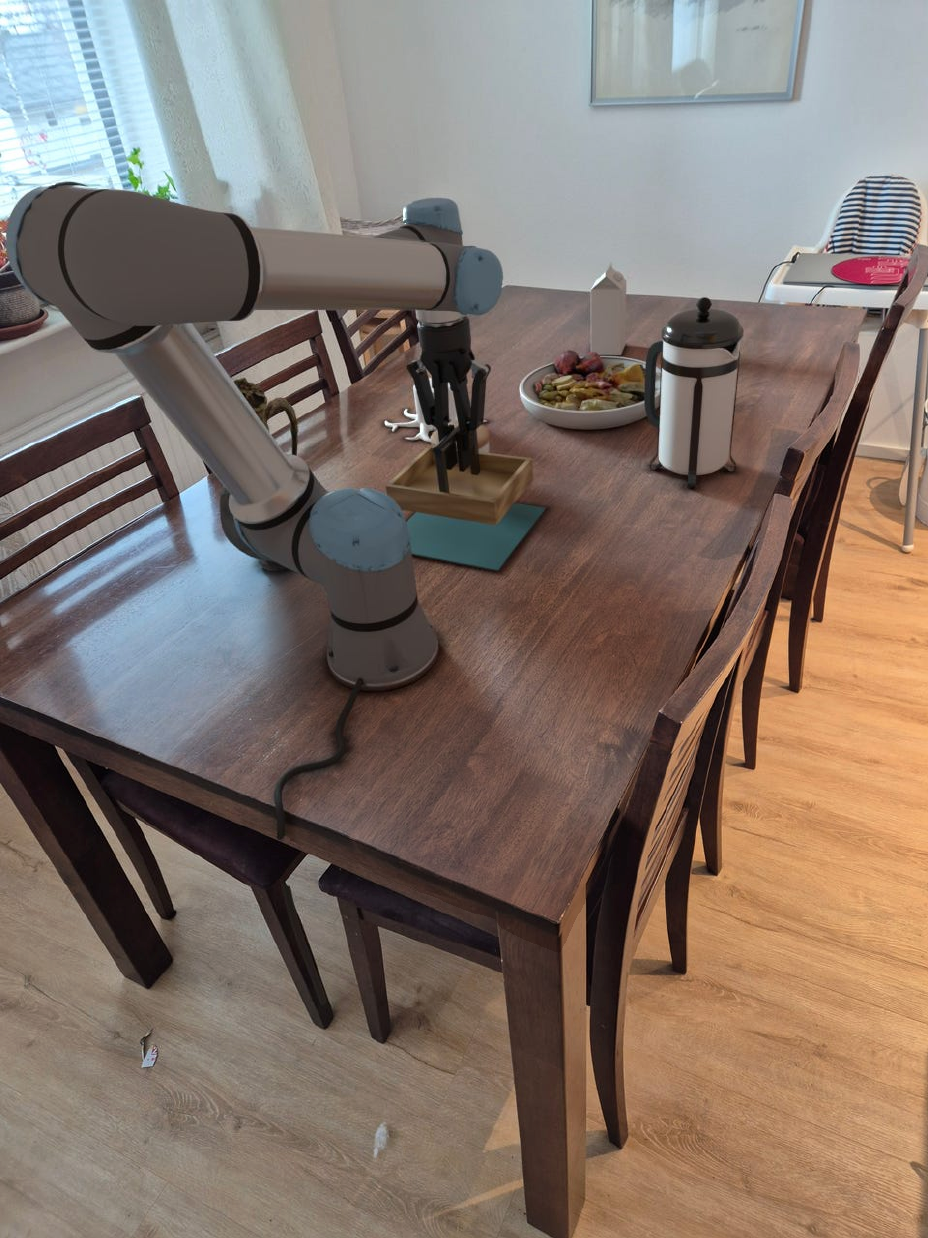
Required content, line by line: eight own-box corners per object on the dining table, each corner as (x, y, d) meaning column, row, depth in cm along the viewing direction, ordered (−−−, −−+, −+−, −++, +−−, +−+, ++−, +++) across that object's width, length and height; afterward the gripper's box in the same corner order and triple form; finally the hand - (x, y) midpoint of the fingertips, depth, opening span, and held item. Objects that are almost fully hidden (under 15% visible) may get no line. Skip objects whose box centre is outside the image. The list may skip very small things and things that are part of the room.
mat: (497, 571, 133) (497, 569, 133) (381, 549, 141) (381, 547, 141) (545, 509, 147) (545, 507, 147) (437, 492, 155) (436, 490, 155)
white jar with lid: (487, 487, 155) (483, 439, 149) (429, 486, 157) (423, 439, 152) (497, 460, 163) (493, 413, 158) (442, 459, 165) (436, 413, 160)
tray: (496, 525, 131) (490, 458, 124) (389, 507, 139) (378, 443, 132) (533, 480, 141) (530, 415, 135) (432, 466, 149) (423, 404, 142)
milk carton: (590, 355, 202) (590, 271, 191) (595, 344, 207) (595, 262, 196) (620, 355, 200) (622, 271, 189) (625, 345, 205) (626, 261, 194)
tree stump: (468, 396, 189) (465, 360, 184) (494, 430, 174) (491, 392, 169) (379, 414, 186) (374, 377, 181) (397, 450, 171) (391, 411, 166)
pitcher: (227, 579, 138) (173, 402, 120) (292, 520, 152) (251, 353, 134) (284, 590, 134) (236, 408, 116) (345, 529, 148) (310, 357, 130)
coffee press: (738, 450, 157) (756, 280, 139) (732, 492, 145) (751, 313, 128) (643, 445, 162) (648, 281, 145) (629, 485, 151) (634, 312, 133)
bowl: (696, 413, 171) (698, 375, 167) (561, 449, 164) (560, 410, 159) (619, 367, 194) (620, 332, 190) (498, 397, 187) (495, 362, 182)
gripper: (500, 312, 123) (510, 461, 137) (410, 307, 129) (429, 451, 143) (477, 330, 118) (490, 483, 132) (385, 324, 123) (407, 471, 138)
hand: (458, 466), depth 137 cm, fingers closed on tray, 2 cm apart
